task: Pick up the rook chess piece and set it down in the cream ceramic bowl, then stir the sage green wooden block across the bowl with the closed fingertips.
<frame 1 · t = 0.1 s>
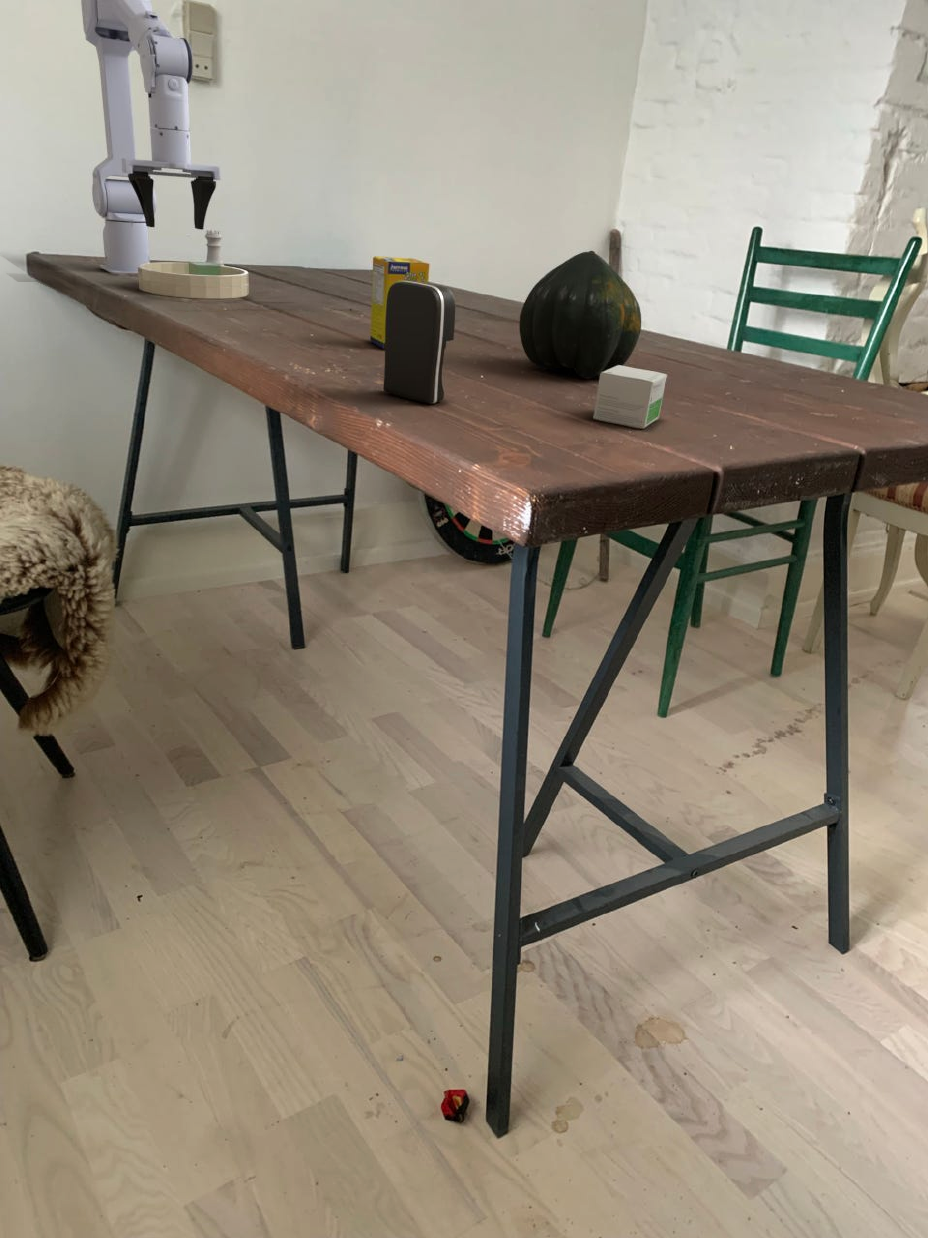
hand: (175, 227, 142), 10 cm above the table, tool pointing down, fingers open, 7 cm apart
small box: (626, 421, 94), on the table
supplement box: (396, 347, 122), on the table
squash: (572, 372, 116), on the table
block: (205, 289, 152), point 1 cm above the table, touching bowl
bowl: (194, 294, 149), on the table
rook chess piece: (215, 277, 173), on the table
battery charger: (416, 399, 95), on the table
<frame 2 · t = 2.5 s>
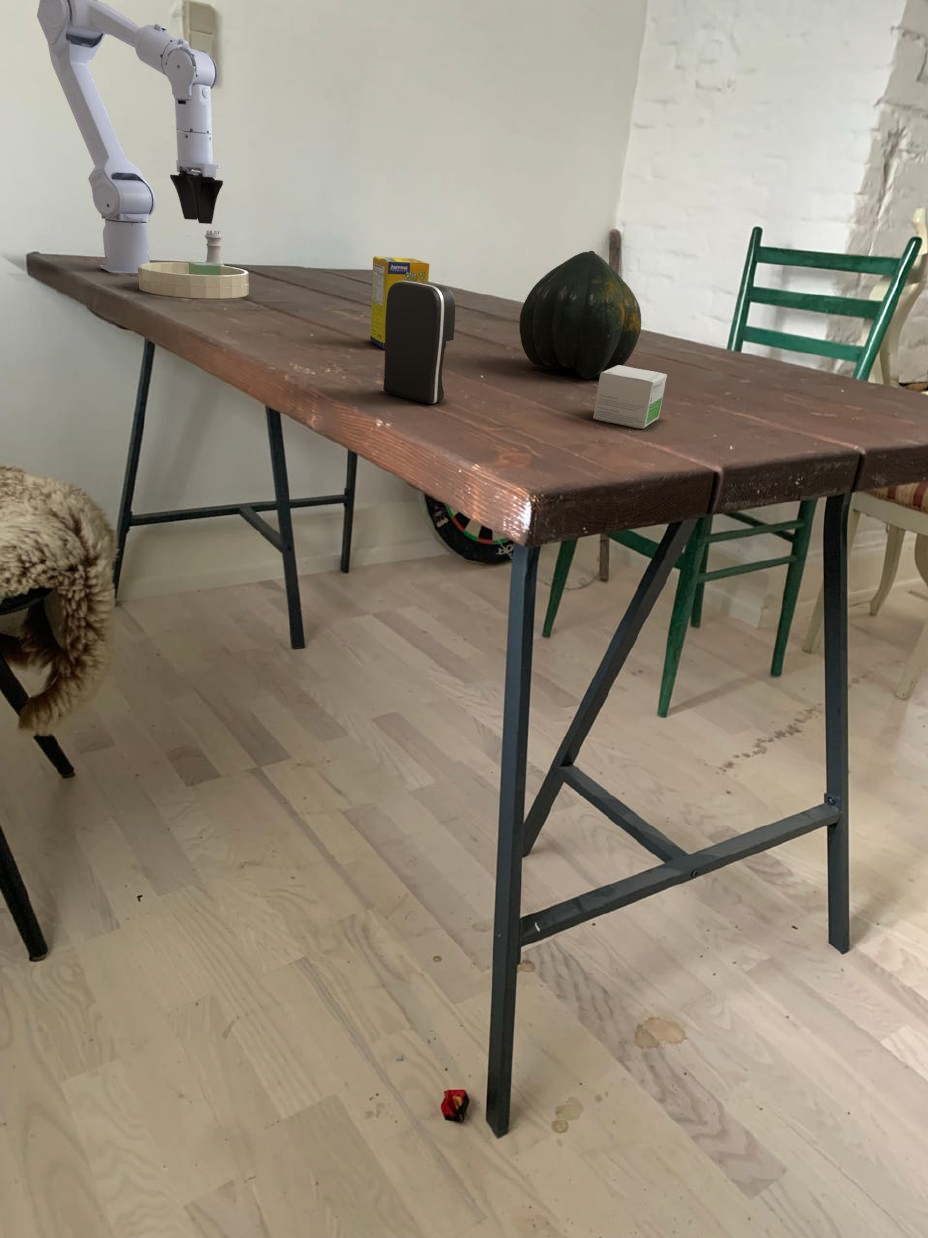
hand: (197, 221, 157), 10 cm above the table, tool pointing down, fingers open, 7 cm apart
nothing on the table moved.
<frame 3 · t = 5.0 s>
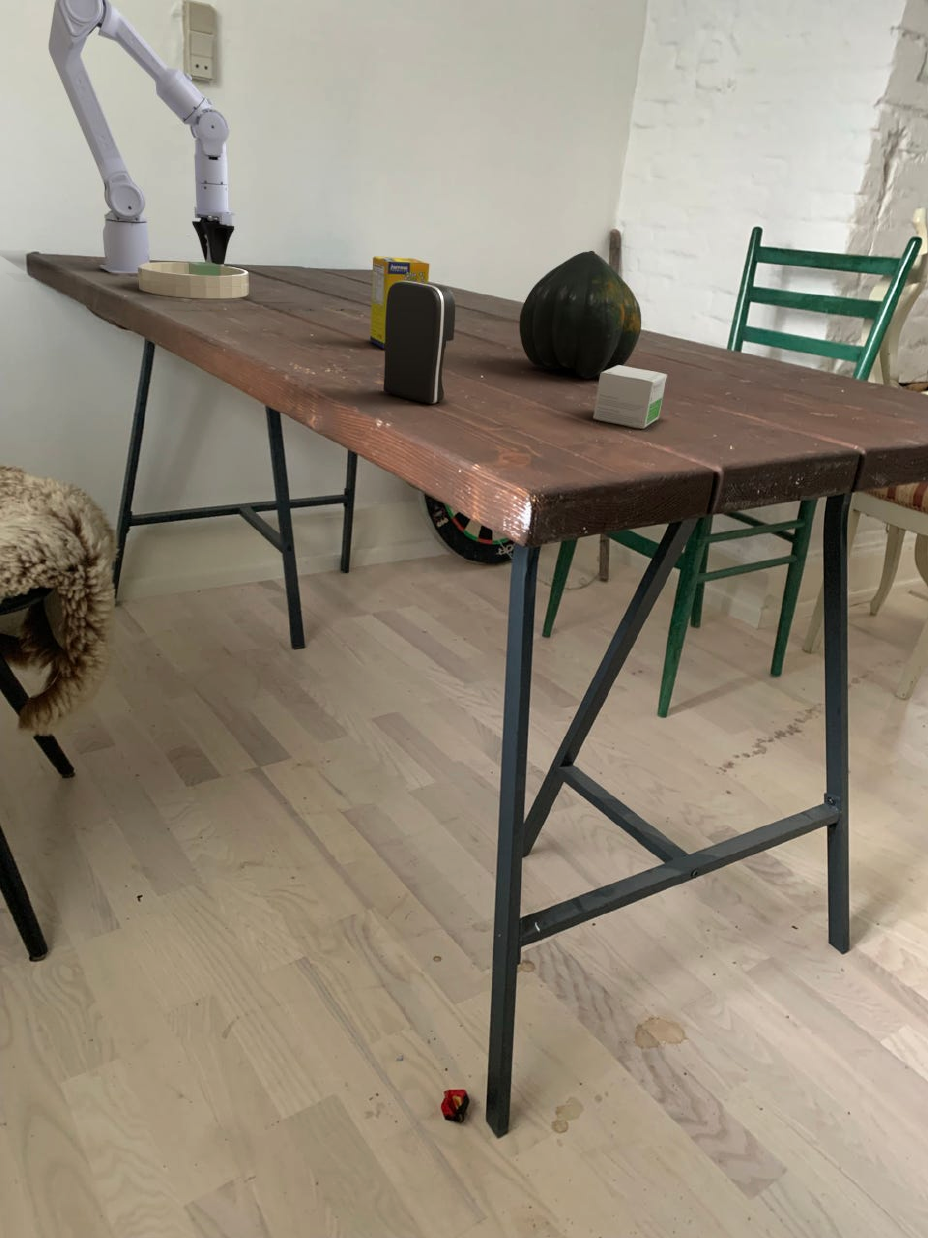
hand: (214, 262, 172), 2 cm above the table, tool pointing down, fingers closed on rook chess piece, 3 cm apart
rook chess piece: (214, 277, 173), on the table, touching gripper
everything else where it was.
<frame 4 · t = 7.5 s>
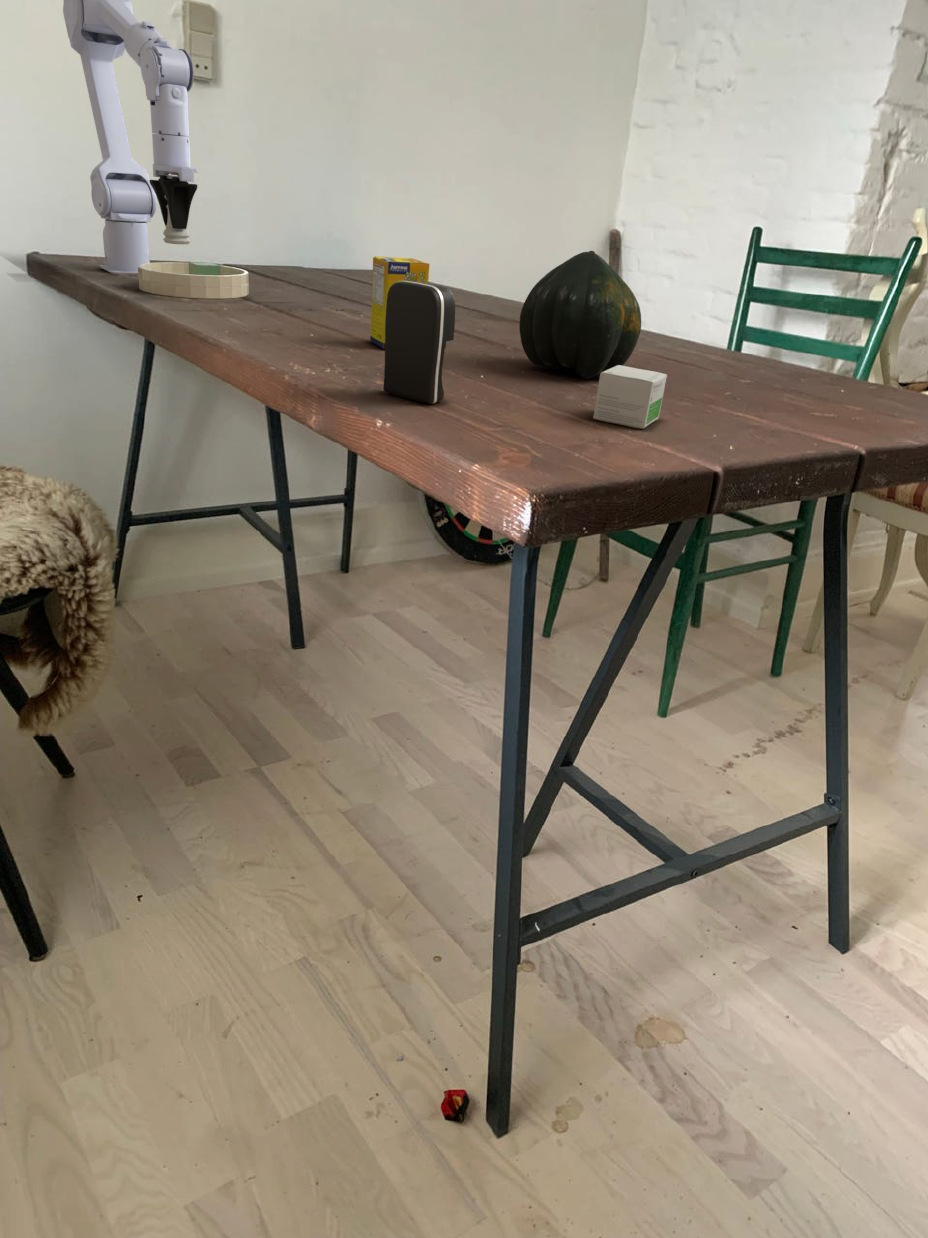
hand: (175, 227, 151), 9 cm above the table, tool pointing down, fingers closed on rook chess piece, 3 cm apart
rook chess piece: (177, 244, 152), point 7 cm above the table, touching gripper
everything else where it was.
when the fingers open (3 cm above the table, at t = 10.3 s): rook chess piece stays where it is, resting on bowl.
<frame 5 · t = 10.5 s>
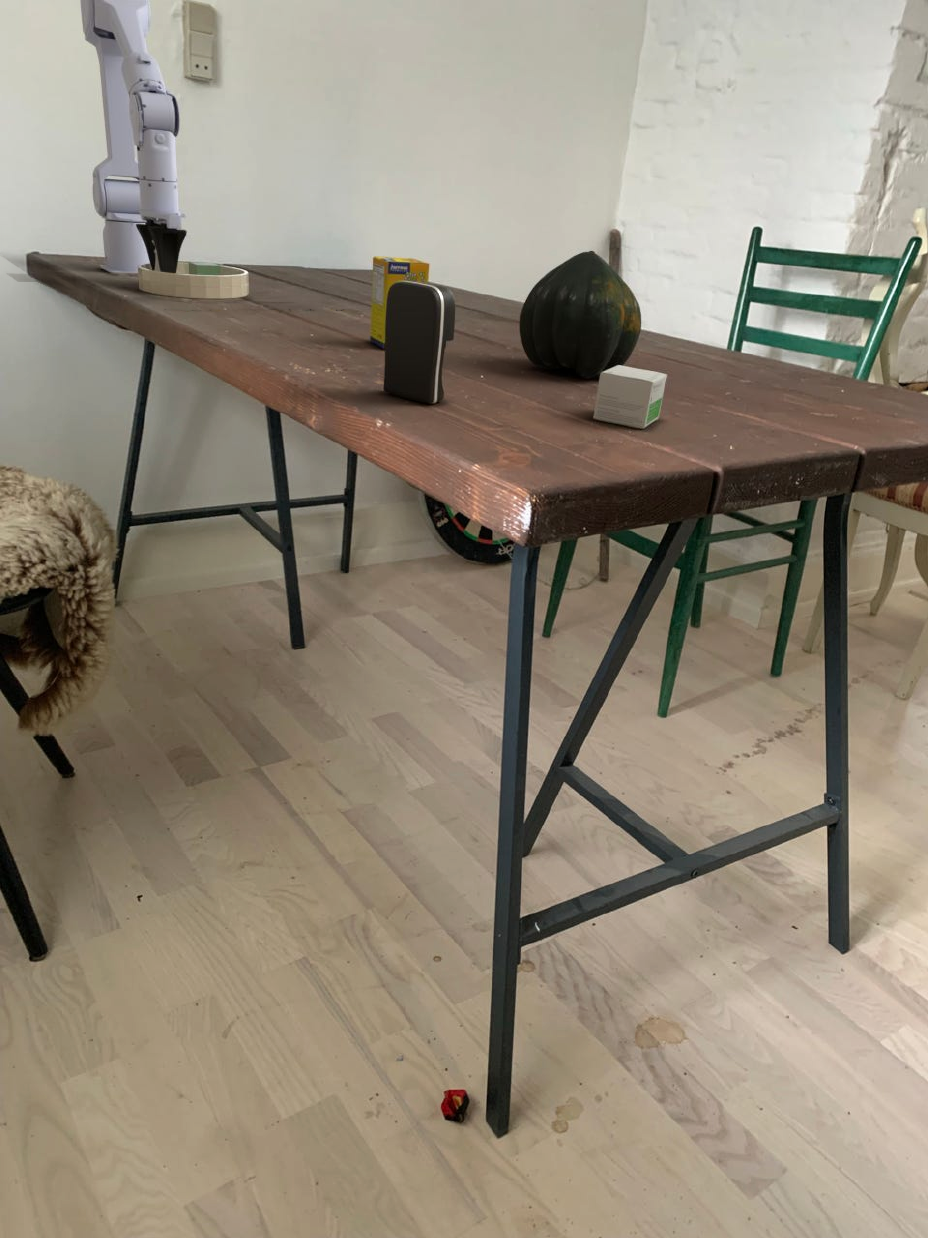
hand: (163, 272, 148), 3 cm above the table, tool pointing down, fingers open, 4 cm apart
rook chess piece: (165, 288, 149), resting on bowl
everything else where it was.
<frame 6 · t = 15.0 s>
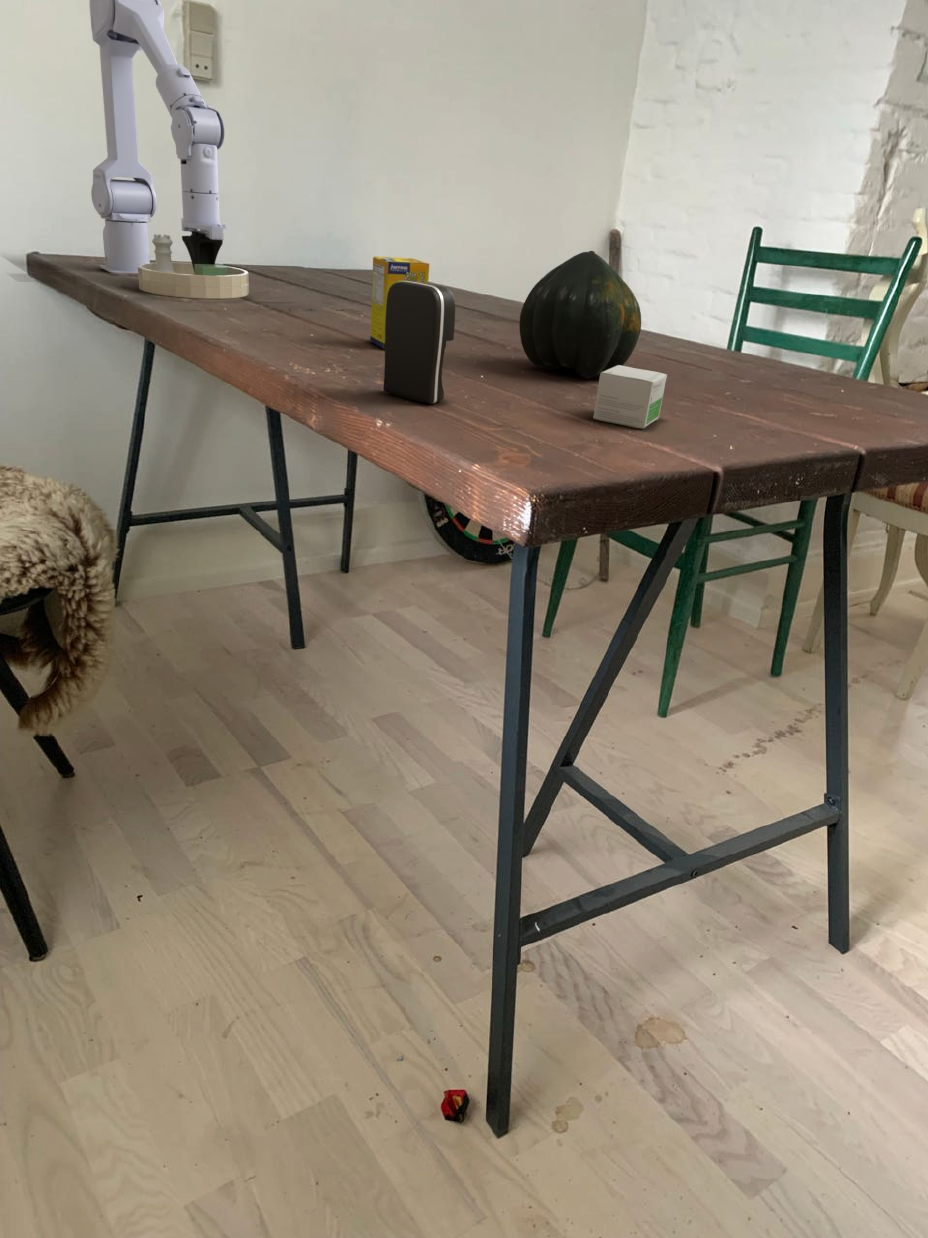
hand: (204, 282, 151), 2 cm above the table, tool pointing down, fingers closed
block: (211, 291, 149), point 1 cm above the table, touching gripper
everything else where it was.
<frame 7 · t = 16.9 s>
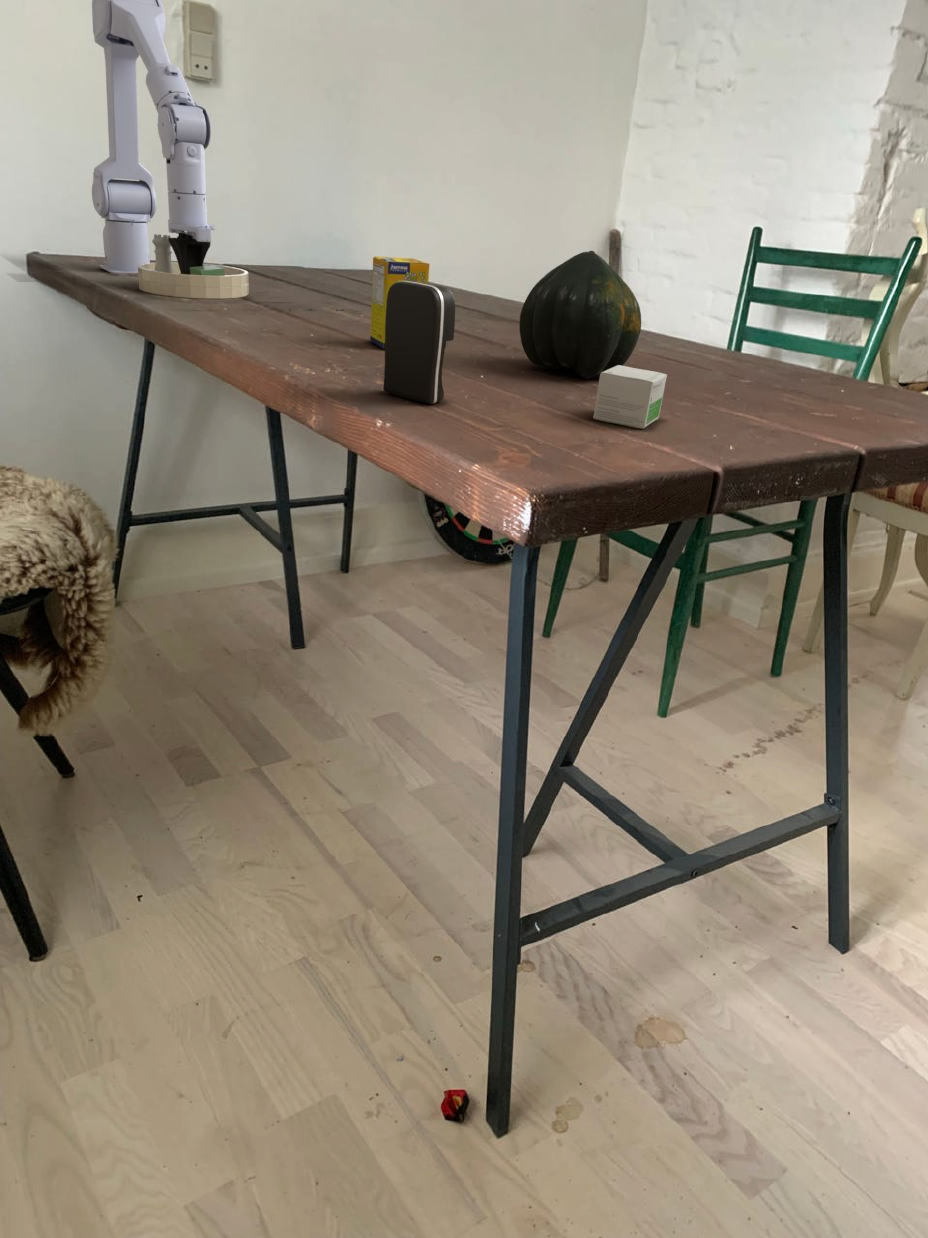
hand: (191, 285, 147), 2 cm above the table, tool pointing down, fingers closed
block: (209, 294, 145), point 1 cm above the table, tilted 5°, touching bowl, gripper
everything else where it was.
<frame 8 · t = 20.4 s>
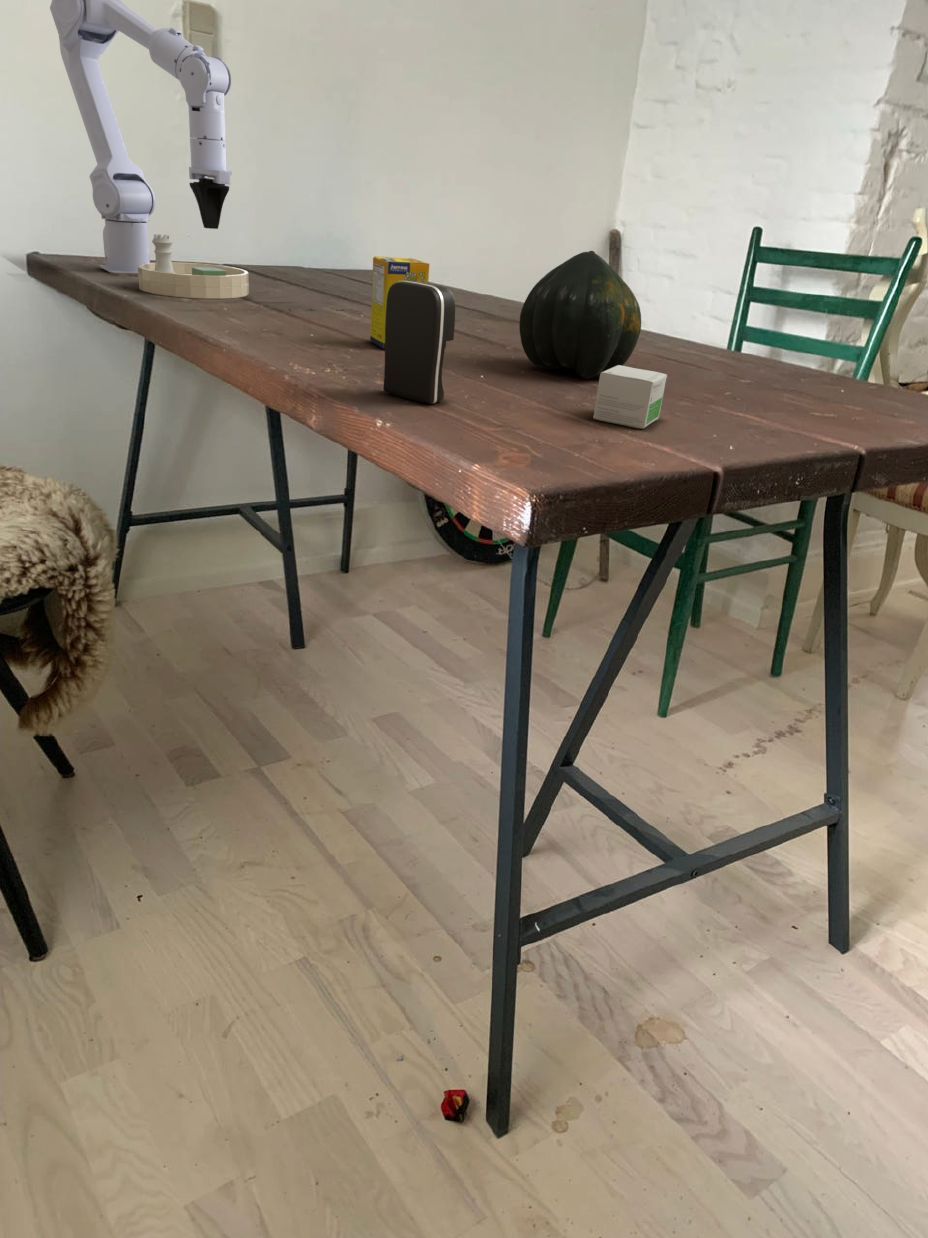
hand: (211, 228, 157), 9 cm above the table, tool pointing down, fingers closed
block: (209, 295, 145), point 1 cm above the table, touching bowl
everything else where it was.
at the end: rook chess piece inside the target area in the bowl (4.9 cm from its centre), point 0.4 cm above the bowl's base; block inside the target area in the bowl (5.1 cm from its centre), point 0.6 cm above the bowl's base; block moved 7.2 cm from its start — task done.
